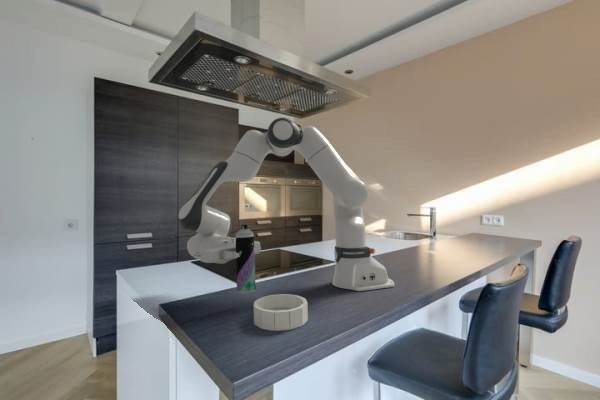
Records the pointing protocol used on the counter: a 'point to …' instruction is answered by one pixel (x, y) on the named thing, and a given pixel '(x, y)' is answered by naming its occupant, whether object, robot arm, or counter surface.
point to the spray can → (245, 261)
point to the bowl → (280, 312)
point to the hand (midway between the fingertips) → (247, 253)
